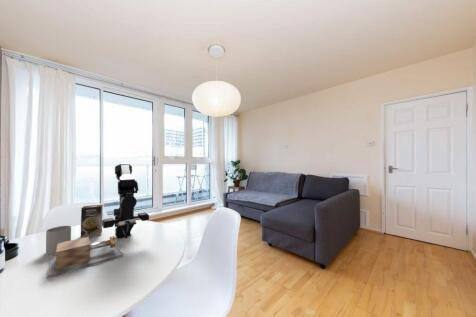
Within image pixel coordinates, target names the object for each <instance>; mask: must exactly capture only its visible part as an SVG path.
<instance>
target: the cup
mask: <svg viewBox="0 0 476 317" xmlns="http://www.w3.org/2000/svg"><path fill="white" fill-rule="evenodd" d="M45 233H46V234H45V254H46V255H47V256H54V255H55V256H56V249H57V243H61V242H66V241H71V240H72V226H71V225H62V226H61V225H60V226H56V227H51V228H48V229H47V230H46V232H45Z"/></svg>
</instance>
